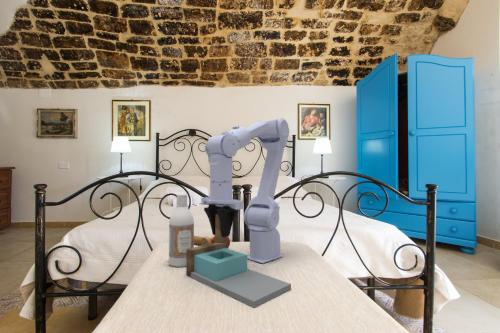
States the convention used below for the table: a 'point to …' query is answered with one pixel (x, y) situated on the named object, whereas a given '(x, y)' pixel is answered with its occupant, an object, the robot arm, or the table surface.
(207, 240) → the kendama
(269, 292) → the slate board
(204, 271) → the teal block
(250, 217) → the robot arm
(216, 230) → the walnut dowel
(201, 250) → the walnut wall
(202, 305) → the table surface
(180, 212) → the bath foam
